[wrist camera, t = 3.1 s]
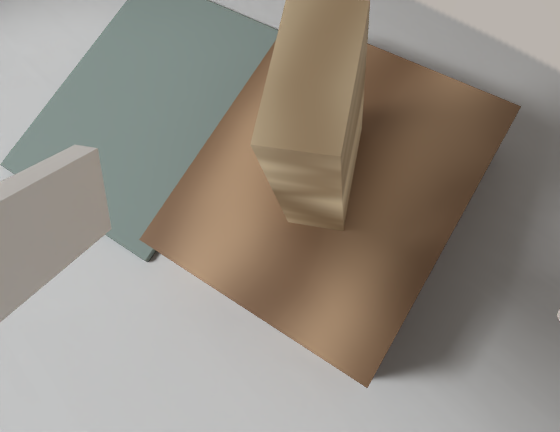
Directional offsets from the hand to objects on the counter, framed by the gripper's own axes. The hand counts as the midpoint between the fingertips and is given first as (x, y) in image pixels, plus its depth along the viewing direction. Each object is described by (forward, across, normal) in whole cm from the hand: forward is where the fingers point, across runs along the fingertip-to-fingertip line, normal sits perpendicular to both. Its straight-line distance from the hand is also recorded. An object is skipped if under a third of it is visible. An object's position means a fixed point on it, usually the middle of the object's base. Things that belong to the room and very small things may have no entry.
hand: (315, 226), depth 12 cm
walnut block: (+11, -1, -5) cm, 12 cm away
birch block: (+8, -1, -2) cm, 9 cm away
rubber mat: (+14, -13, -2) cm, 19 cm away
